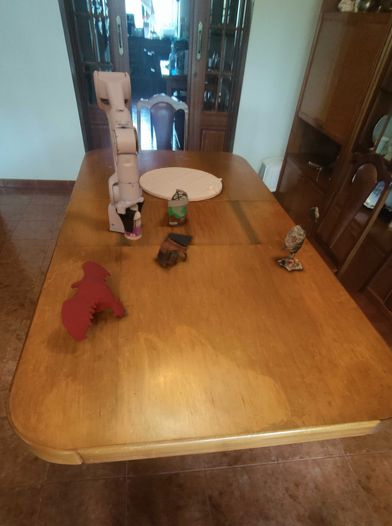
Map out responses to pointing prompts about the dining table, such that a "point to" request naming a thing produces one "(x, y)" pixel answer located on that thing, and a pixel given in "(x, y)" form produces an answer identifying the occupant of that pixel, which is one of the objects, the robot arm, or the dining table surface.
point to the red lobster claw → (89, 301)
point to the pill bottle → (135, 225)
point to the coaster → (179, 238)
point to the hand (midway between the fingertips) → (132, 227)
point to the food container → (178, 208)
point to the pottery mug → (173, 255)
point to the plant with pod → (296, 243)
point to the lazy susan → (180, 183)
